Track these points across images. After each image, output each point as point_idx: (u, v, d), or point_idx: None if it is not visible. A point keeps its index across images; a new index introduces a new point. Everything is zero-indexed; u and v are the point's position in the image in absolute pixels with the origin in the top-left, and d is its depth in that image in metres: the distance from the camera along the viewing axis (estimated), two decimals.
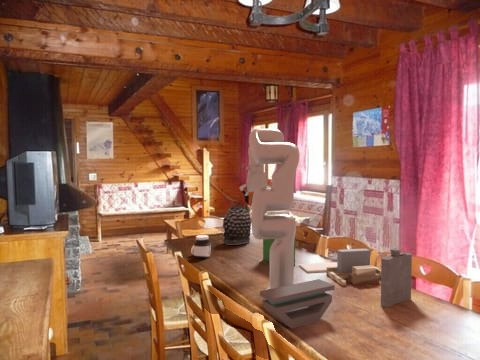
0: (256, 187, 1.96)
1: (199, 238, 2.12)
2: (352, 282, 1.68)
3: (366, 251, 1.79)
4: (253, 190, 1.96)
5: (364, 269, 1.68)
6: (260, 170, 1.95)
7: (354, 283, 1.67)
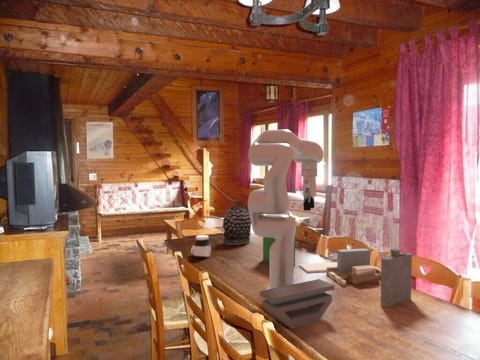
0: (314, 192, 1.86)
1: (199, 238, 2.12)
2: (352, 282, 1.68)
3: (366, 251, 1.79)
4: (314, 195, 1.84)
5: (364, 269, 1.68)
6: None
7: (354, 283, 1.67)
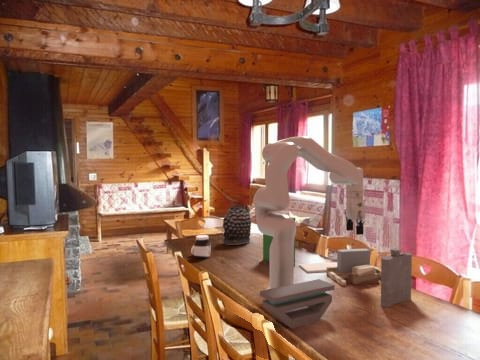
0: None
1: (199, 238, 2.12)
2: (353, 282, 1.68)
3: (366, 251, 1.79)
4: None
5: (365, 269, 1.68)
6: None
7: (355, 283, 1.67)
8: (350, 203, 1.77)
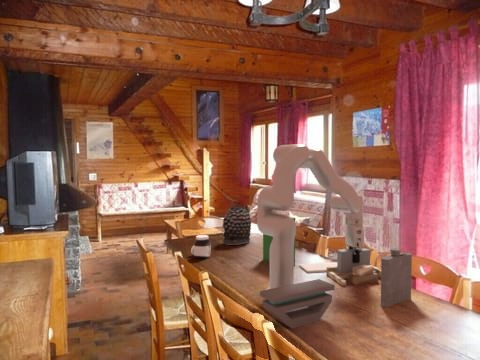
0: None
1: (199, 238, 2.12)
2: (353, 282, 1.68)
3: (366, 251, 1.78)
4: None
5: (365, 269, 1.69)
6: None
7: (355, 283, 1.67)
8: (349, 230, 1.78)
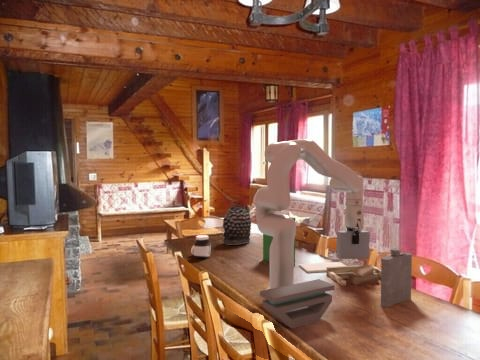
0: None
1: (199, 238, 2.12)
2: (353, 282, 1.67)
3: (366, 232, 1.78)
4: None
5: (366, 269, 1.69)
6: None
7: (356, 283, 1.67)
8: (349, 211, 1.77)
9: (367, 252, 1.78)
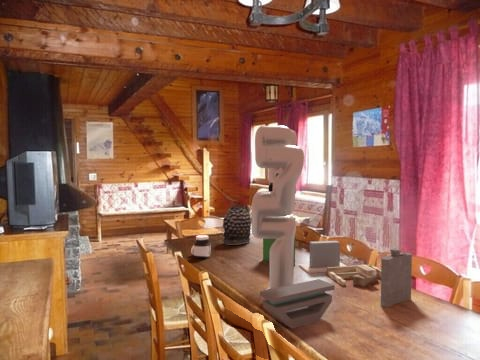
0: None
1: (199, 238, 2.12)
2: (361, 284, 1.65)
3: (336, 243, 1.91)
4: None
5: None
6: None
7: (364, 285, 1.65)
8: None
9: (338, 261, 1.92)
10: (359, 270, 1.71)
